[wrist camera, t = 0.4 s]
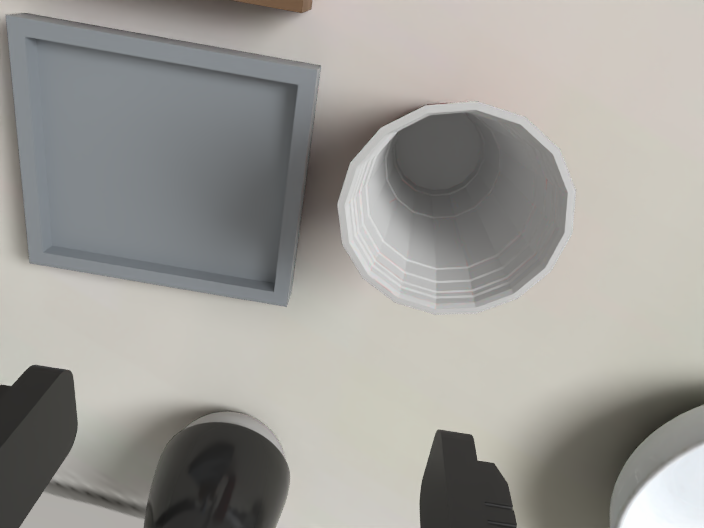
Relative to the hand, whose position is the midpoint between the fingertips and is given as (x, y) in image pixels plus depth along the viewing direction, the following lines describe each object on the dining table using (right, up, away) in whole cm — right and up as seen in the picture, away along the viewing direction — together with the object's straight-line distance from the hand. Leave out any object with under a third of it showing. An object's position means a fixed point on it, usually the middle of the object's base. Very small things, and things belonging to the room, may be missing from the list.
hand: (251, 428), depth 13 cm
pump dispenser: (-8, -11, +36) cm, 39 cm away
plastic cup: (+8, +11, +25) cm, 28 cm away
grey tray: (-10, +10, +26) cm, 29 cm away
